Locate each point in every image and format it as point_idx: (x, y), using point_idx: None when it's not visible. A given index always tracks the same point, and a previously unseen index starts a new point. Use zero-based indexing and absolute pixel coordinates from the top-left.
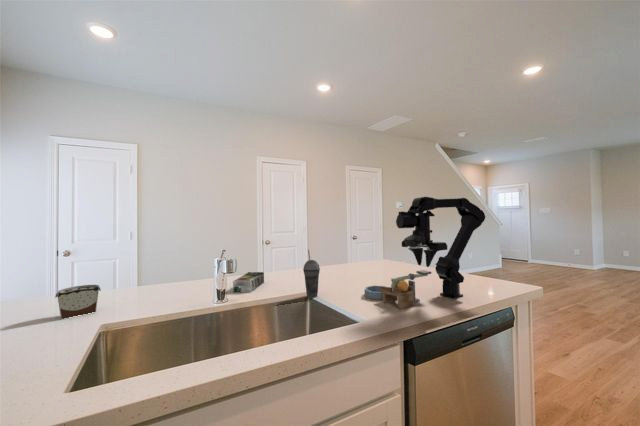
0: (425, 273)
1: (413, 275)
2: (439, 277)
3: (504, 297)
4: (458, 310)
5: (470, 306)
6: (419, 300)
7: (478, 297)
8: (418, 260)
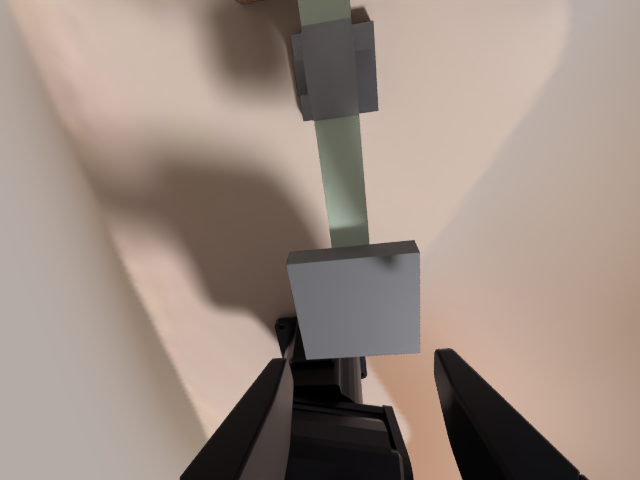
0: (291, 276)
1: (311, 98)
2: (390, 411)
3: None
4: (107, 205)
5: (154, 295)
6: (303, 116)
7: None
8: (465, 419)
